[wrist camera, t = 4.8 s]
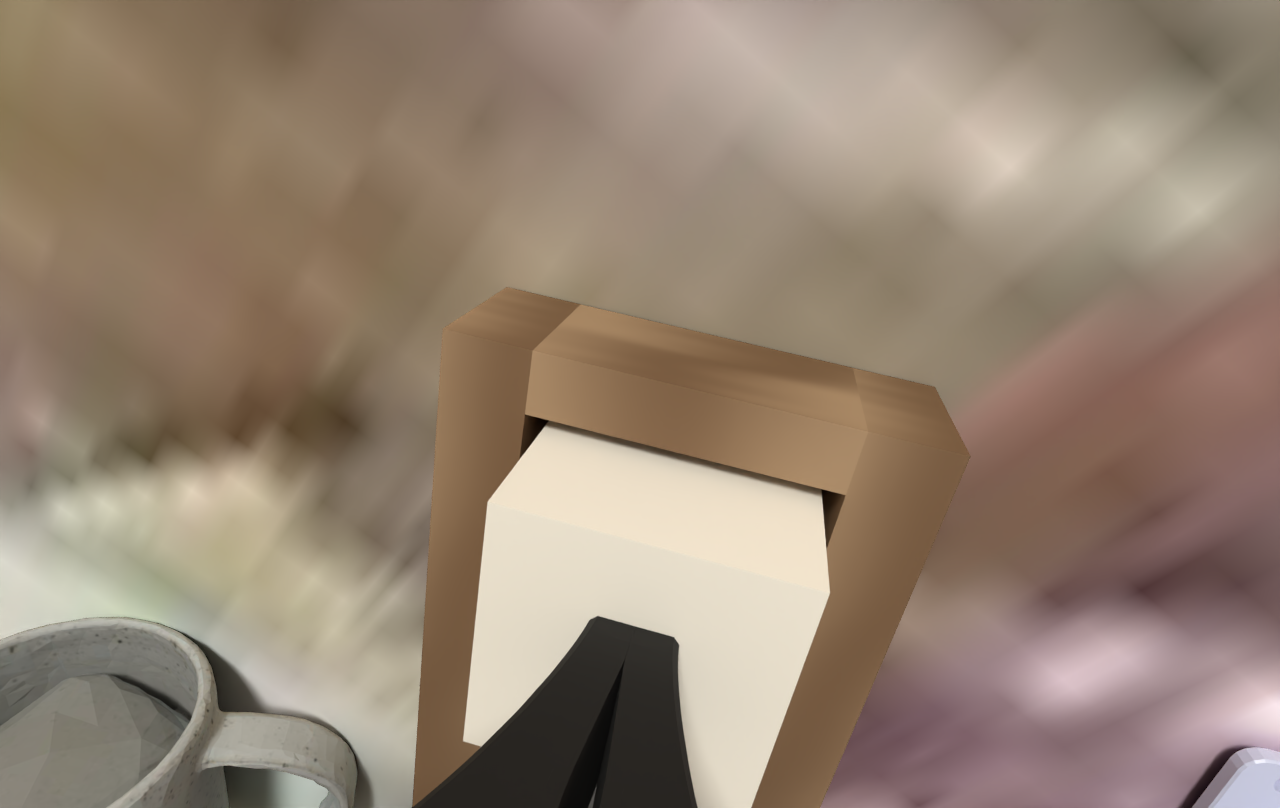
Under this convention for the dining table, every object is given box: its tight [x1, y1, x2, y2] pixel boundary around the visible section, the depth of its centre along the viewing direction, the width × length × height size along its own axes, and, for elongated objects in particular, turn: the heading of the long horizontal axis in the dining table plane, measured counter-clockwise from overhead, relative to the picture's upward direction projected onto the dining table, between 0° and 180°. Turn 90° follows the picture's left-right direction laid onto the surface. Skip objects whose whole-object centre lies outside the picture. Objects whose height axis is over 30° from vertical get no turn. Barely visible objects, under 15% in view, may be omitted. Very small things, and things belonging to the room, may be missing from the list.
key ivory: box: [463, 420, 830, 808], centre depth 13 cm, size 5×5×4 cm
